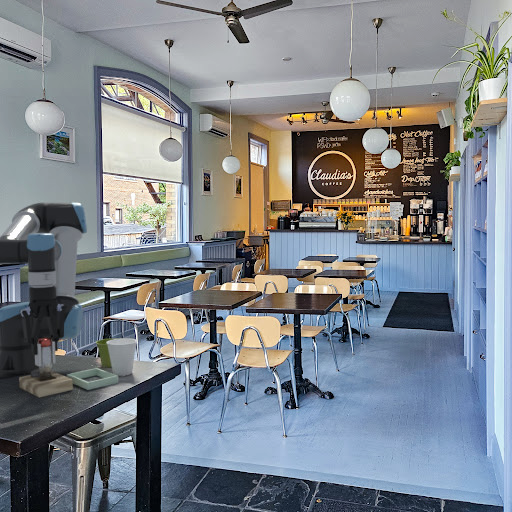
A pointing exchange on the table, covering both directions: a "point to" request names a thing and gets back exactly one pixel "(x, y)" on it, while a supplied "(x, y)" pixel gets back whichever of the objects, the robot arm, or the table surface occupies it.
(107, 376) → the tray
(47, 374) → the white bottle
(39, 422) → the table surface
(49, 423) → the table surface
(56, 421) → the table surface
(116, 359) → the cup
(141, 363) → the table surface
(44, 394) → the wooden block with hole
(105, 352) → the plant pot
